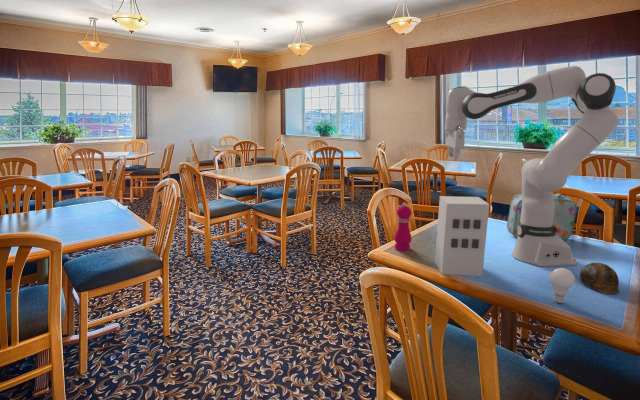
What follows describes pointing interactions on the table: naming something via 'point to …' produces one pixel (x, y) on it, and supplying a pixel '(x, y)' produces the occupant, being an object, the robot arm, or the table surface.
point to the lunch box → (561, 219)
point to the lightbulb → (561, 283)
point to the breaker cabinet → (461, 235)
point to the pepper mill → (403, 229)
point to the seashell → (600, 278)
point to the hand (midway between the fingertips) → (453, 157)
